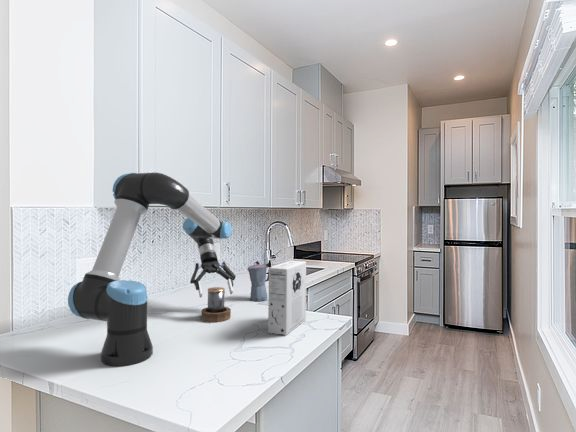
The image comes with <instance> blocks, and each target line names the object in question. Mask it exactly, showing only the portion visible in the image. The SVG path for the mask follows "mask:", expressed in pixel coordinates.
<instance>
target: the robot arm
mask: <svg viewBox="0 0 576 432" xmlns="http://www.w3.org/2000/svg"><path fill="white" fill-rule="evenodd" d="M112 186H113V187H112V193H113V194H112V195H113V198H114V205H115V206H116V209H115V211H114V213H113V216H112V219H111V222H110V224H109V226H108V229H107V231H106V234H105V237H104V240H103V242H102V244H101V247H100V250H99V252H98V254H97V257H96V259H95V262H94V265H93V267H92V269H91V270H89V271H87V272H86V273H84V277H83V278H82V281H79V282H76V284H74V285H73V286H72V287H71V288H70V289H69V290H70V291H69V293H68V296H67V304H68V307H69V309H70V311H71V313H72V314H73V315H74V316H76V317H79V318H82V319H86V320H95V321H101V322H106V329H107V330H106V338H105V340H104V343H103V346H102V349H101V352H100V361H101V363H102V364H104V365H107V366H113V367H117V366H118V367H119V366H122V367H123V366H129V365H134V364H139V363H141V362H144V361H146V360H148V359H149V358H151V357H152V356H151V355H153V354H154V347H153V343H152V339H151V338H150V337H151V336H150V335H149V332H148V299H149V298H148V292H147V286H146V285H144V283H142V282H141V281H137V280H129V279H128V280H126V279H122V280H120V277H119V276H120V274H121V271H122V268H123V265H124V263H125V260H126V258H127V254H128V252H129V250H130V246H131V243H132V242H133V239H134V235H135V232H136V230H137V227H138V224H139V221H140V219H141V216H142V215H144V214H147V212H148V209H149V206H150V205H162V206H166V207H168V208H169V209H171V210H176V211H177V212H179V213H181V214H182V215H183V216H185V217H186V219H185V220H184V221H183V223H182V229H183V231H184V232H185V233H186V234H187V235H188V236H189V237H190V238H191V239H192V240H193V241H194V242H195V243H196V244H197V248H198V253H199V257H200V258H199V259H200V263H201V264H200V263H198V262H196V263H195V266H194V270H193V273H192V276H191V278H190V282H189V284H191V285H192V284H194V287H195V290H196V291H198V295H199V298H202V297H203V289H202V284H201V280H202V278H203V277H204V276H205V275H206V273H207V274H211V273H212V274H215V273H216V275H217V274H218V275H220V276H221V277H222V278H224V279H225V280H226V283H227V285H228V286H227V287H228V290H229V291H228V292H229V294H230V295H233V293H234V281H235V280H236V274H235V273H234V272H233V271H232V269H230V267H229V266H227V264H226V261H222V262H220V263H219V260H218V255H217V251H216V248H215V247H216V246H215V244H214V239H217V240H218V239H220V240H223V239H229V238H230V237H231V235H232V232H233V231H232V230H233V228H232V224H231V223H230V222H227V221H221V220H219V218H218V217H217V216H215V215H214V214H212V212H210V211H209V210H208V209H207V208H206V207H205V206H204V205H202V204H201V203H200V202H199V201H198V200H197V199H195V198H194V197H193V196H192V195H190V191H189V189H188V188H186V187H185V186H184V185H183V184H182V183H180V182H179V181H177V180H176V179H174V178H173V177H171V176H168V175H166V174H164V173H160V172H143V173H142V172H140V173H137V172H130V173H129V172H128V173H124V174H122V175H120V176H118V177H117V178H116V179H115V181H114V183H113V185H112ZM200 268H201V269H202V271H201V272H200V273H199V275H198V276H197V274H198V272H199V270H200Z"/></svg>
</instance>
